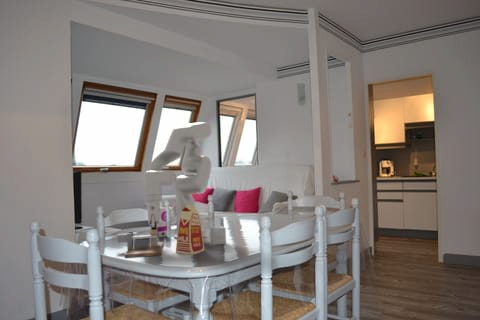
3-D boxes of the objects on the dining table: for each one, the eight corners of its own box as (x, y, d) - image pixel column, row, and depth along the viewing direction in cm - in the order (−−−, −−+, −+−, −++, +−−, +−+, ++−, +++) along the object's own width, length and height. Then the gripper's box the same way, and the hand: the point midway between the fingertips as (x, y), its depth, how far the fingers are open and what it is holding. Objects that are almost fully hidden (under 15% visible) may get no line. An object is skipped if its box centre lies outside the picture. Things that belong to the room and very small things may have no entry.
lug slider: (157, 244, 167) (157, 229, 167) (156, 247, 160) (156, 231, 160) (151, 245, 166) (150, 229, 166) (150, 248, 160) (149, 231, 160)
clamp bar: (156, 239, 164) (156, 231, 164) (156, 240, 161) (156, 232, 161) (118, 241, 162) (118, 234, 162) (117, 242, 159) (117, 235, 159)
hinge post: (133, 247, 164) (133, 231, 164) (131, 249, 158) (131, 233, 159) (129, 247, 163) (128, 231, 164) (127, 250, 158) (127, 233, 158)
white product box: (170, 235, 200) (169, 206, 200) (161, 238, 192) (161, 208, 192) (156, 234, 202) (155, 206, 203) (148, 237, 194) (147, 208, 195)
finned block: (150, 245, 166) (149, 237, 166) (148, 249, 159) (148, 240, 159) (136, 246, 165) (135, 238, 165) (134, 250, 158) (133, 240, 158)
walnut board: (163, 244, 174) (163, 241, 174) (160, 255, 152) (160, 252, 152) (131, 246, 172) (131, 243, 172) (124, 257, 149) (124, 254, 149)
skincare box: (222, 241, 177) (222, 225, 177) (226, 244, 171) (225, 227, 171) (210, 242, 175) (209, 226, 175) (213, 245, 169) (212, 228, 169)
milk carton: (192, 254, 151) (190, 204, 151) (174, 252, 156) (173, 204, 156) (206, 250, 158) (204, 202, 159) (189, 248, 163) (187, 202, 164)
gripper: (160, 199, 163) (162, 241, 162) (162, 196, 177) (164, 235, 177) (142, 200, 162) (144, 242, 161) (146, 197, 176) (147, 236, 176)
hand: (154, 239), depth 169 cm, fingers closed
